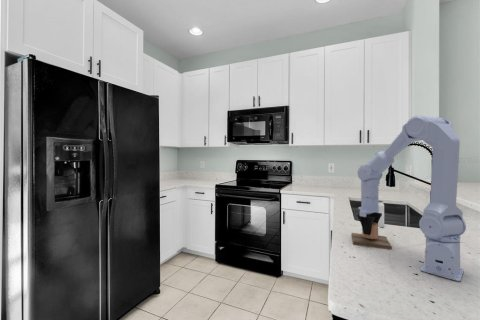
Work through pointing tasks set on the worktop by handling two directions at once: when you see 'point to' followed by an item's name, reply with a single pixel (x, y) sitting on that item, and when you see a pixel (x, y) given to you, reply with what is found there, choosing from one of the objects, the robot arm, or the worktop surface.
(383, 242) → the holder
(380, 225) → the can
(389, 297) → the worktop surface
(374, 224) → the tube
